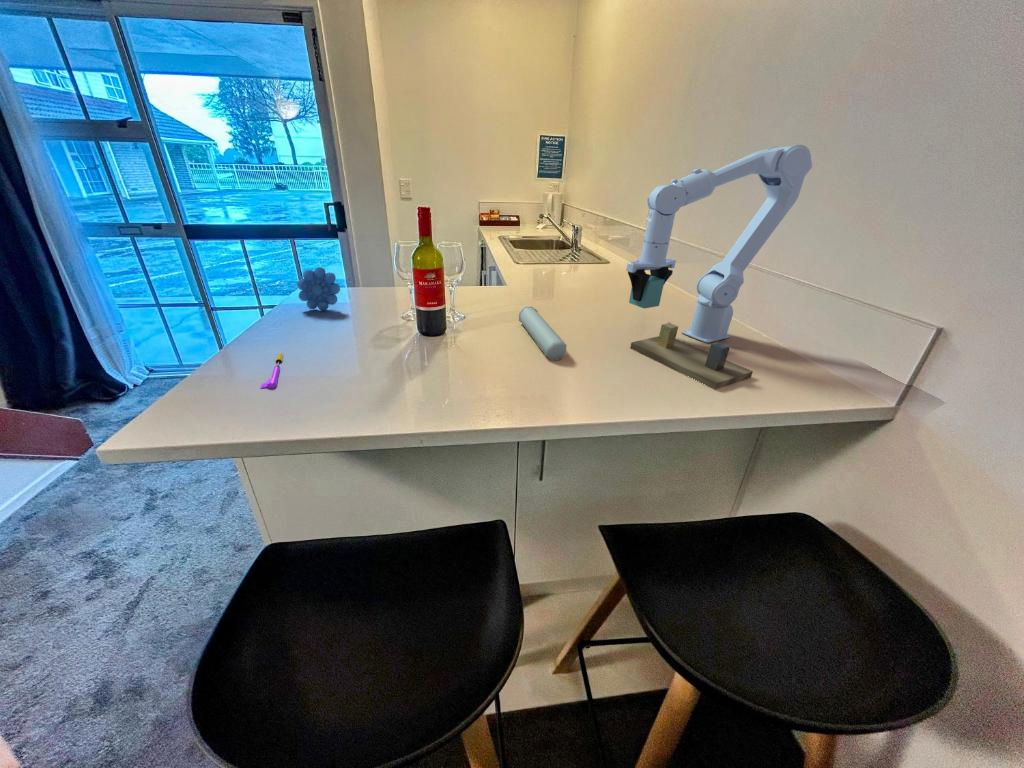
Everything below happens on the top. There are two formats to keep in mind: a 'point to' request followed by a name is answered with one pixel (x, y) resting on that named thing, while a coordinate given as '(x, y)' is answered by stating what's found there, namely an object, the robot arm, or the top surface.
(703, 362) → the brown wooden board
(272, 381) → the purple bent rod
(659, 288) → the teal block
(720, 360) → the graphite post
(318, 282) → the grapes
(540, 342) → the tube
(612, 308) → the top surface
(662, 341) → the brass post
